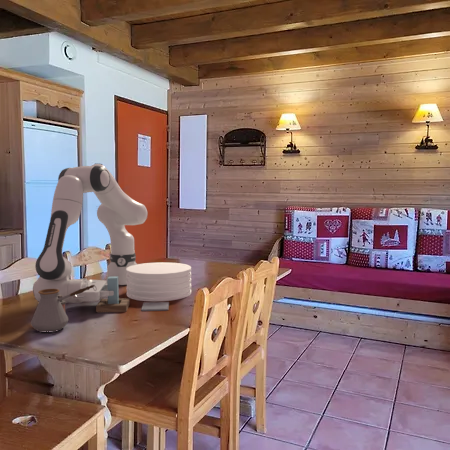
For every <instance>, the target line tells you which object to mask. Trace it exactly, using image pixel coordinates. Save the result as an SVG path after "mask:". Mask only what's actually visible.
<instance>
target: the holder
mask: <svg viewBox="0 0 450 450" xmlns="http://www.w3.org/2000/svg"><path fill="white" fill-rule="evenodd" d="M130 299H131V298H129V297H124V298H123V297H122V298H120V297H119V304H108V298H100V299H99V301H98V303H97V304H96V305H95V313H124V312H125V313H126V312H127V311H128V309H129V306H130V303H131V302H130V301H131V300H130Z"/></svg>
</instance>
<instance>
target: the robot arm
mask: <svg viewBox="0 0 450 450" xmlns="http://www.w3.org/2000/svg"><path fill="white" fill-rule="evenodd" d="M92 192H93V193H94V195H95V196H96V198H97V200H98V201H99V202H100V204H99V205H98V207H97V210H96V217H97V219H98V221H100V222H101V224H102V225H104V227H105V229H106V230H107V232H108V236H109V239H110V254H109V256H110V257H109V259H110V263H108V265H107V269H106V279H104V280H103V279H88V278H86V277H85V278H83V277H82V278H75V279H71V275H72V263H71V262H70V260H68V258H66V257H64V255H63V248H64V244H65V243H64V242H65V238H66V233H67V230H68V228H69V227H70V226H72V225H74V224H76V223H77V222H78V221H79V218H80V215H81V214H82V213H81V212H82V207H83V199H84V197H83V196H84V194H86V193H92ZM52 198H53V199H52V205H51V209H50V211H51V213H50V218H49V223H48V228H47V234H46V238H45V241H44V245H43V249H42V251H41V252H40V254H39V256H38V257H37V259H36V262H35V271H36V273H37V275H38V276H39V277H38V278H37V280H36V281H35V282H34V283H33V284H32V285H33V286H32V292H33V293H32V295H33V296H34V298H35V300H37V302H39V301H40V299H41V296H40V294H39V293H38V292H39V291H40V290H44V289H59V292H58V293H59V294H60V295H62V297H64V296H66V295H69V294H71V293H73V292H75V291H77V290H79V289H83V288H86V287H87V286H91V285H95V286H96V287H95V286H94V289H93V288H90V289H89V290H86V291H84V292H82V293H79V294H76V295H74V296H70V297H68V298H66V299H63V300H64V301H66V304H67V303H68V304H77V303H78V304H79V303H80V304H81V303H84V302H92V303H93V302H94V303H95V302H99V301H100V300H101V299H102V298H106V297H108V296H113V295H114V290H109V291H108V287H107V278H108V277H112V276H118V286H127V284H126V280H127V278H126V274H127V272H126V268H127V267H129V266H132V265H137V264H138V263H137V262H136V256H137V255H136V252H135V237H134V236H133V234H132V233H130V232H128V230H127V229H126V226H137V225H142V224H143V225H144V224H145V222H146V220H147V219H148V213H149V212H148V210H147V207H146V205H145V204H143V203H141V202H138V201H136V200H135V199H133V198H132V197H130V196H129V195H128V194H127V193H126V192H124V191H123V190H122V188H121V187H120V185H119V183H118V182H117V180H116V178H115V177H114V176H113V174H112V172H110V170H109V169H108V168H107V167H106V166H105V165H104V164H101V163H94V164H92V165H81V166H75V167H74V166H73V167H66V168H63V169H62V170H60V173H59V175H58V178H57V184H56V186H55V189H54V193H53V197H52ZM96 288H97V290H96ZM95 290H96V291H95Z"/></svg>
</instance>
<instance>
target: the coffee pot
mask: <svg viewBox="0 0 450 450" xmlns="http://www.w3.org/2000/svg"><path fill="white" fill-rule="evenodd" d="M94 286H95V285H91V286H87V287H86V288H83V289H79V290H77V291H75V292H73V293H71V294H69V295H66V296H64V297H61V298H58V297H57V296H58V292H59V289H44V290H40V291H39V292H38V293H39V294H40V296H41V299H40V301H38V303H37V306H36V309H35V311H34V313H33V316H32V318H31V321H30V324H31V326H32V328H33V329H34V330H37V332H38V331H46V332H47V331H48V332H49V331H56V330H60V329H62V328H65V326H66V325H67V324H68V322H69V316H68V315H67V313H66V310H65V311H64V309H63V307H62V305H61V303H60V301H61V300H63V299H66V298H68V297H70V296H74V295H76V294H79V293H82V292H84V291H86V290H89V289H90V288H93V289H94ZM95 287H96V286H95ZM96 290H97V288H96ZM96 290H95V291H96ZM62 330H63V329H62ZM60 331H61V330H60Z"/></svg>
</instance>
